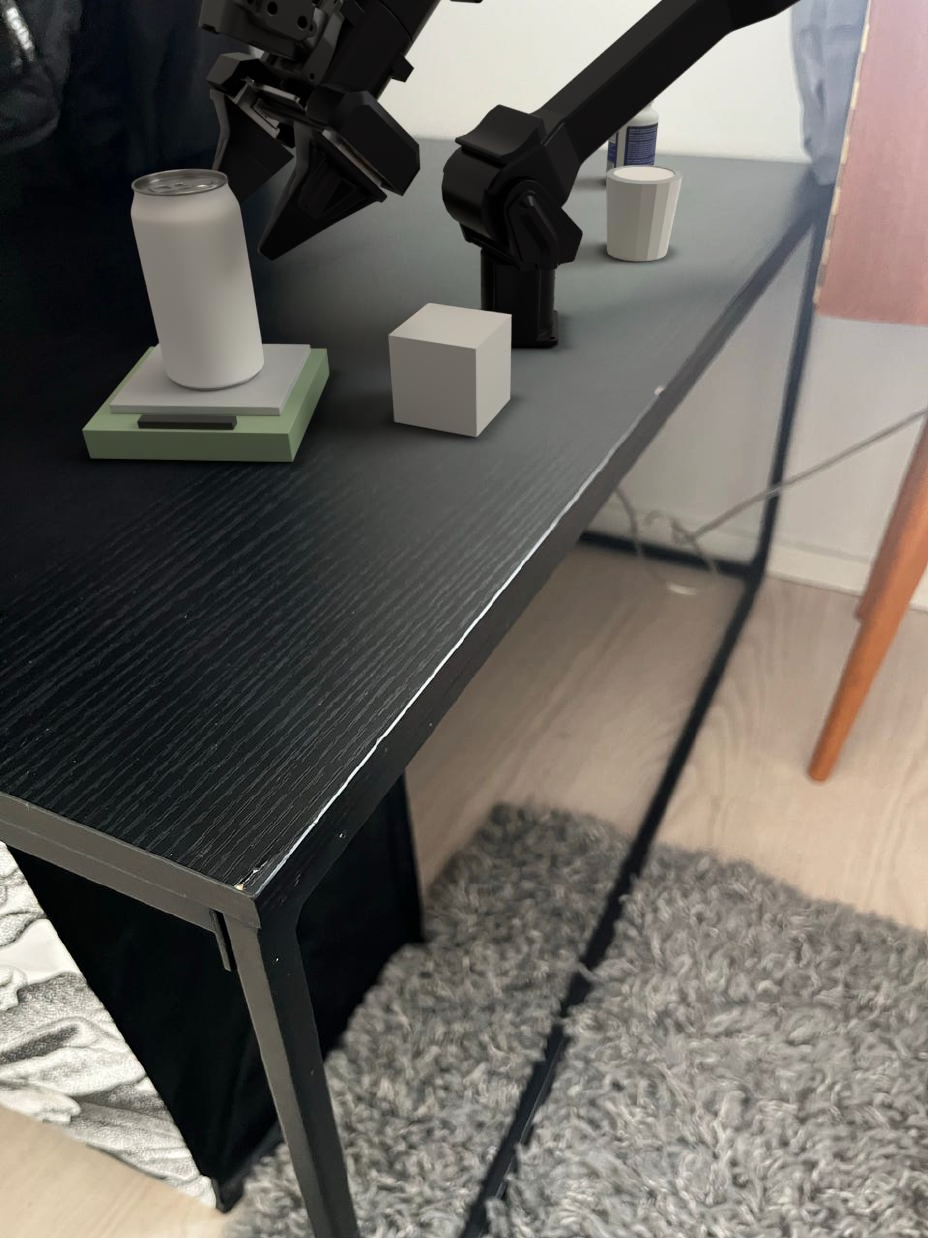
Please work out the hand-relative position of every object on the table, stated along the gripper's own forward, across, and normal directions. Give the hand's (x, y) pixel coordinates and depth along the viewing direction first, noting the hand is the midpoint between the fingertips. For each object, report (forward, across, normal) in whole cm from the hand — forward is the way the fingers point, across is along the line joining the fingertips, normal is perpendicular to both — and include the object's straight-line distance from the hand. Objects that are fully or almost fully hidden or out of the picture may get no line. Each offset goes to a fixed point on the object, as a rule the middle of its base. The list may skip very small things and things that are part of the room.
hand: (234, 237), depth 59 cm
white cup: (-22, -9, +38) cm, 45 cm away
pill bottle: (-33, -28, +49) cm, 66 cm away
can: (+8, 0, +4) cm, 9 cm away
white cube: (+1, +9, +15) cm, 18 cm away
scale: (+10, +1, +5) cm, 11 cm away
